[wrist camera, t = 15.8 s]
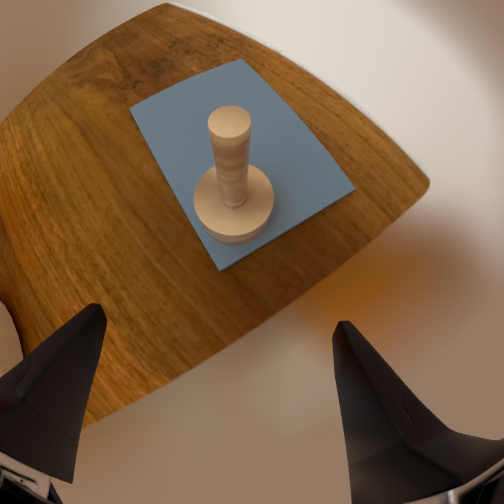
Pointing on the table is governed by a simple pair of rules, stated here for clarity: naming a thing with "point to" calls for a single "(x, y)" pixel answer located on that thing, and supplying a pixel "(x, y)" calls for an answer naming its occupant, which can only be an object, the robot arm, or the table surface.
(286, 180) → the mat
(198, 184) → the wooden stamp
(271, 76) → the table surface
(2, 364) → the bowl
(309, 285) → the table surface
